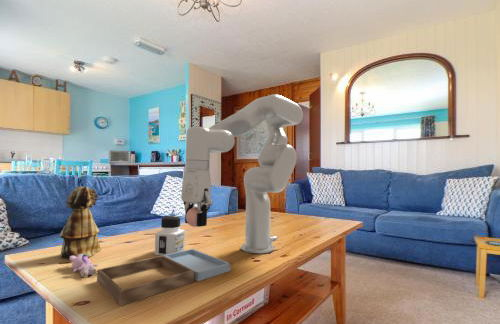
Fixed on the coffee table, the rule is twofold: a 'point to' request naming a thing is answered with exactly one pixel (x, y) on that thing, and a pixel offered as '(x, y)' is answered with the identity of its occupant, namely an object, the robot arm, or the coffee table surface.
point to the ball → (192, 216)
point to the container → (169, 236)
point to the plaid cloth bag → (80, 225)
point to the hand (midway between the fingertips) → (195, 223)
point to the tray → (200, 263)
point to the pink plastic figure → (83, 265)
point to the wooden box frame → (147, 289)
